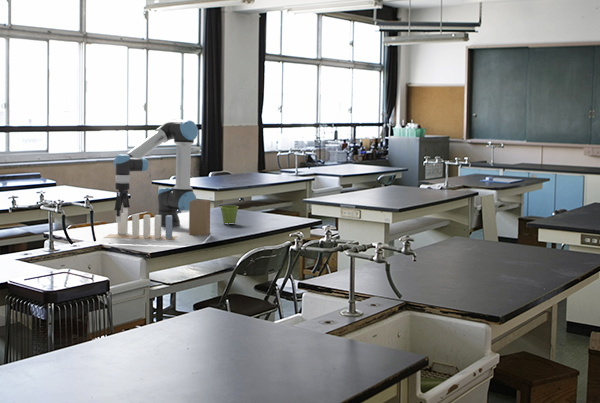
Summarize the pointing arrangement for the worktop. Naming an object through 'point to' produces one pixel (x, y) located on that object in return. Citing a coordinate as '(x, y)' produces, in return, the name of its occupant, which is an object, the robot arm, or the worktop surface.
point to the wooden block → (199, 217)
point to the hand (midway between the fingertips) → (122, 220)
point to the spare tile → (123, 224)
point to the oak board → (138, 237)
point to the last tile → (168, 226)
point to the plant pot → (229, 213)
